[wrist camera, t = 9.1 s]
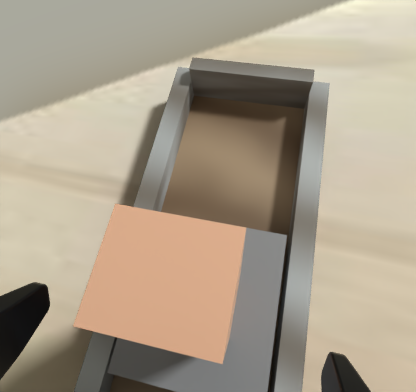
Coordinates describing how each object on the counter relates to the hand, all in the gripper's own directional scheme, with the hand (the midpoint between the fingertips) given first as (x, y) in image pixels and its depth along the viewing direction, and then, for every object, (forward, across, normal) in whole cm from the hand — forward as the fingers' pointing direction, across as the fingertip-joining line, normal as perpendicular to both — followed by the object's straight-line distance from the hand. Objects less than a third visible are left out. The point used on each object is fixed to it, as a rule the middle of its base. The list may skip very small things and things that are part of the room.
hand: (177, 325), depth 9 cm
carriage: (+6, 0, +4) cm, 8 cm away
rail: (+10, 0, +2) cm, 11 cm away
